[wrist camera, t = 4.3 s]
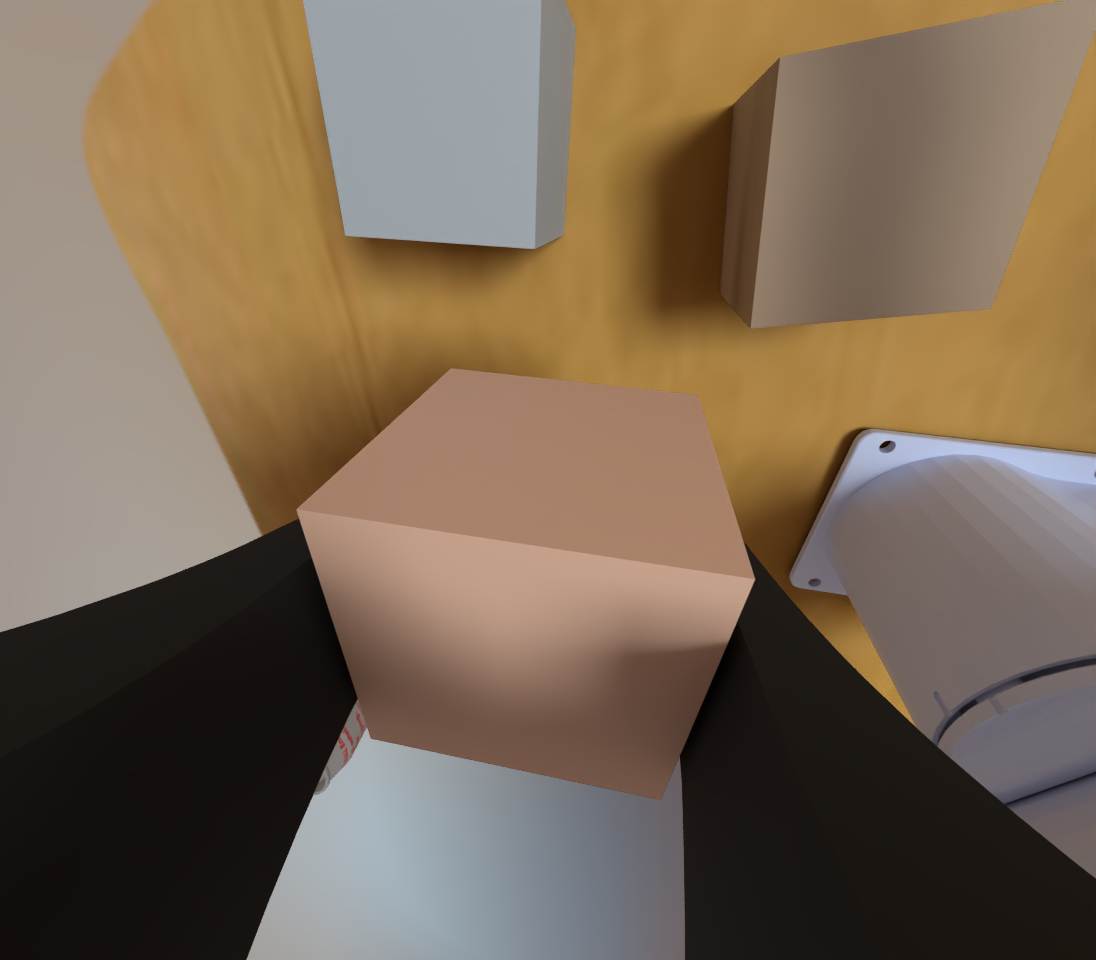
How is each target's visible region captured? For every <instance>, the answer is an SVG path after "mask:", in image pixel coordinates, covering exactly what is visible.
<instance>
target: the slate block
mask: <svg viewBox="0 0 1096 960" xmlns="http://www.w3.org/2000/svg"><path fill="white" fill-rule="evenodd" d="M303 3H304V9H305V14H306V20H307V25H308V31H309V36H310V42H311V47H312V53H313V59H314V64H315V70H316V75H317V81H318V86H319V92H320V97H321V103H322V108H323V114H324V120H325V125H326V131H327V136H328V142H329V147H330V153H331V158H332V164H333V169H334V175H335V181H336V186H337V192H338V197H339V203H340V208H341V214H342V219H343V225H344V230H345V236H356V237H370V238H384V239H398V240H412V241H427V242H441V243H455V244H469V245H483V246H498V247H512V248H526V249H536V248H538V247H540V246H542V245H544V244H546V243H548V242H551V241H553V240H555V239H557V238H559V237H561V236H563V235H564V226H565V209H566V192H567V174H568V157H569V139H570V122H571V104H572V87H573V69H574V52H575V34H576V27H575V25H574V22H573V19H572V17H571V14H570V12H569V9H568V6H567V4H566V1H565V0H303Z"/></svg>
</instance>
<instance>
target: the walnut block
mask: <svg viewBox="0 0 1096 960" xmlns="http://www.w3.org/2000/svg"><path fill="white" fill-rule="evenodd" d="M1095 30H1096V0H1064V1H1059V2H1054V3H1049V4H1044V5H1039V6H1034V7H1029V8H1024V9H1019V10H1014V11H1009V12H1004V13H999V14H994V15H989V16H984V17H979V18H974V19H969V20H964V21H959V22H954V23H949V24H944V25H939V26H934V27H929V28H924V29H919V30H914V31H909V32H904V33H899V34H894V35H889V36H884V37H879V38H874V39H869V40H864V41H859V42H854V43H849V44H844V45H839V46H834V47H829V48H824V49H819V50H814V51H809V52H804V53H799V54H794V55H789V56H784V57H780V58H779V59H778V60H777V61H776V62H775V63H774V64H773V65H772V66H771V67H770V68H769V69H768V70H767V71H766V72H765V73H764V74H763V75H762V76H761V77H760V78H759V79H758V80H757V81H756V82H755V83H754V84H753V85H752V86H751V87H750V88H749V89H748V90H747V91H746V92H745V93H744V94H743V95H742V96H741V97H740V98H739V99H738V100H737V101H736V102H735V103H734V105H733V119H732V133H731V147H730V161H729V175H728V189H727V203H726V217H725V231H724V245H723V259H722V273H721V287H720V294H721V295H722V296H723V297H724V299H725V300H726V301H727V302H728V303H729V304H730V305H731V307H732V308H733V309H734V310H735V311H736V312H737V314H738V315H739V316H740V317H741V318H742V319H743V321H744V322H745V323H746V324H747V325H748V326H749V328H750V329H753V328H765V327H777V326H789V325H802V324H814V323H826V322H838V321H850V320H863V319H875V318H887V317H899V316H911V315H924V314H936V313H948V312H960V311H972V310H985V309H991V308H992V305H993V303H994V300H995V297H996V295H997V292H998V289H999V287H1000V284H1001V281H1002V279H1003V276H1004V273H1005V271H1006V268H1007V265H1008V263H1009V260H1010V257H1011V255H1012V252H1013V249H1014V247H1015V244H1016V241H1017V239H1018V236H1019V233H1020V231H1021V228H1022V225H1023V223H1024V220H1025V217H1026V215H1027V212H1028V209H1029V207H1030V204H1031V201H1032V199H1033V196H1034V193H1035V191H1036V188H1037V185H1038V183H1039V180H1040V177H1041V175H1042V172H1043V169H1044V167H1045V164H1046V161H1047V159H1048V156H1049V153H1050V151H1051V148H1052V145H1053V143H1054V140H1055V137H1056V135H1057V132H1058V129H1059V127H1060V124H1061V121H1062V118H1063V116H1064V113H1065V110H1066V108H1067V105H1068V102H1069V100H1070V97H1071V94H1072V92H1073V89H1074V86H1075V84H1076V81H1077V78H1078V76H1079V73H1080V70H1081V68H1082V65H1083V62H1084V60H1085V57H1086V54H1087V52H1088V49H1089V46H1090V44H1091V41H1092V38H1093V36H1094V33H1095Z"/></svg>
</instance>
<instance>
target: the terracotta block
mask: <svg viewBox="0 0 1096 960" xmlns="http://www.w3.org/2000/svg"><path fill="white" fill-rule="evenodd" d="M296 510H297V513H298V516H299V520H300V523H301V526H302V529H303V532H304V535H305V538H306V541H307V544H308V547H309V550H310V553H311V556H312V559H313V562H314V566H315V569H316V572H317V575H318V578H319V581H320V584H321V587H322V590H323V593H324V596H325V599H326V602H327V605H328V608H329V612H330V615H331V618H332V621H333V624H334V627H335V630H336V633H337V636H338V639H339V642H340V645H341V648H342V651H343V654H344V657H345V661H346V664H347V667H348V670H349V673H350V676H351V679H352V682H353V685H354V688H355V691H356V694H357V697H358V700H359V703H360V707H361V710H362V713H363V716H364V719H365V722H366V725H367V728H368V731H369V734H370V737H371V739H375V740H380V741H385V742H389V743H394V744H399V745H404V746H408V747H413V748H418V749H423V750H427V751H432V752H437V753H441V754H446V755H451V756H455V757H460V758H465V759H470V760H474V761H479V762H484V763H488V764H493V765H498V766H502V767H507V768H512V769H517V770H521V771H526V772H531V773H536V774H540V775H545V776H550V777H555V778H559V779H564V780H568V781H573V782H578V783H582V784H587V785H592V786H597V787H601V788H606V789H611V790H615V791H620V792H625V793H630V794H634V795H639V796H644V797H648V798H653V799H658V800H661V799H662V796H663V794H664V792H665V789H666V787H667V785H668V782H669V780H670V778H671V775H672V773H673V771H674V768H675V766H676V764H677V761H678V759H679V757H680V754H681V752H682V750H683V747H684V745H685V743H686V740H687V738H688V735H689V733H690V731H691V728H692V726H693V724H694V721H695V719H696V717H697V714H698V712H699V710H700V707H701V705H702V703H703V700H704V698H705V696H706V693H707V691H708V689H709V686H710V684H711V682H712V679H713V677H714V675H715V672H716V670H717V668H718V665H719V663H720V660H721V658H722V656H723V653H724V651H725V649H726V646H727V644H728V642H729V639H730V637H731V635H732V632H733V630H734V628H735V625H736V623H737V621H738V618H739V616H740V614H741V611H742V609H743V607H744V604H745V602H746V600H747V597H748V595H749V592H750V590H751V588H752V585H753V583H754V581H755V577H754V574H753V571H752V568H751V564H750V561H749V558H748V555H747V551H746V548H745V545H744V542H743V539H742V535H741V532H740V529H739V526H738V523H737V519H736V516H735V513H734V510H733V506H732V503H731V500H730V497H729V494H728V490H727V487H726V484H725V481H724V478H723V474H722V471H721V468H720V465H719V461H718V458H717V455H716V452H715V449H714V445H713V442H712V439H711V436H710V433H709V429H708V426H707V423H706V420H705V416H704V413H703V410H702V407H701V404H700V400H699V397H698V395H694V394H685V393H676V392H667V391H657V390H648V389H639V388H629V387H620V386H611V385H602V384H592V383H583V382H574V381H564V380H555V379H546V378H536V377H527V376H518V375H509V374H499V373H490V372H481V371H471V370H462V369H453V368H451V369H450V370H449V371H448V372H446V373H445V374H444V375H443V376H442V377H441V378H440V379H439V380H438V381H437V382H436V383H434V384H433V385H432V386H431V387H430V388H429V389H428V390H427V391H426V392H425V393H423V394H422V395H421V396H420V397H419V398H418V399H417V400H416V401H415V402H414V403H412V404H411V405H410V406H409V407H408V408H407V409H406V410H405V411H404V412H403V413H401V414H400V415H399V416H398V417H397V418H396V419H395V420H394V421H393V422H392V423H391V424H389V425H388V426H387V427H386V428H385V429H384V430H383V431H382V432H381V433H380V434H378V435H377V436H376V437H375V438H374V439H373V440H372V441H371V442H370V443H369V444H367V445H366V446H365V447H364V448H363V449H362V450H361V451H360V452H359V453H358V454H357V455H355V456H354V457H353V458H352V459H351V460H350V461H349V462H348V463H347V464H346V465H344V466H343V467H342V468H341V469H340V470H339V471H338V472H337V473H336V474H335V475H333V476H332V477H331V478H330V479H329V480H328V481H327V482H326V483H325V484H324V485H323V486H321V487H320V488H319V489H318V490H317V491H316V492H315V493H314V494H313V495H312V496H310V497H309V498H308V499H307V500H306V501H305V502H304V503H303V504H302V505H301V506H299V507H298V508H297V509H296Z"/></svg>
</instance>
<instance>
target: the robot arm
mask: <svg viewBox="0 0 1096 960" xmlns="http://www.w3.org/2000/svg"><path fill="white" fill-rule="evenodd" d="M885 441H890V444H889V445H888V446H886V447H884V448H879V446H880V445H881V444H882V443H883V442H885ZM1095 471H1096V454H1092V453H1083V452H1074V451H1065V450H1057V449H1048V448H1039V447H1030V446H1021V445H1012V444H1004V443H995V442H986V441H977V440H968V439H960V438H951V437H942V436H933V435H924V434H915V433H907V432H898V431H889V430H880V429H868V430H865V431H862V432H861V433H860V434H858V435H857V436H856V438H855V439H854V441H853V443H852V445H851V447H850V449H849V452H848V454H847V456H846V458H845V460H844V462H843V464H842V466H841V468H840V470H839V472H838V474H837V476H836V478H835V481H834V483H833V485H832V487H831V489H830V491H829V493H828V495H827V497H826V499H825V501H824V503H823V505H822V507H821V509H820V512H819V514H818V516H817V518H816V520H815V522H814V524H813V526H812V528H811V530H810V532H809V534H808V536H807V538H806V541H805V543H804V545H803V547H802V549H801V551H800V553H799V555H798V557H797V559H796V561H795V563H794V565H793V567H792V570H791V572H790V574H789V578H790V581H791V583H792V585H793V586H795V587H798V588H803V589H809V590H816V591H822V592H828V593H835V594H841V595H848V597H849V599H850V601H851V603H852V605H853V607H854V609H855V610H856V612H857V614H858V616H859V618H860V620H861V622H862V624H863V626H864V628H865V630H866V632H867V633H868V635H869V637H870V639H871V641H872V643H873V645H874V647H875V649H876V651H877V653H878V655H879V656H880V658H881V660H882V662H883V664H884V666H885V668H886V670H887V672H888V674H889V676H890V677H891V679H892V681H893V683H894V685H895V687H896V689H897V691H898V693H899V695H900V697H901V699H902V700H903V702H904V704H905V706H906V708H907V710H908V712H909V714H910V716H911V718H912V720H913V722H914V723H915V725H916V727H917V728H916V727H915V726H914V725H913V724H912V723H911V722H910V721H909V720H908V719H907V718H905V717H904V716H903V715H902V714H901V713H900V712H899V711H898V710H897V709H896V708H895V707H894V706H893V705H892V704H891V703H890V702H889V701H888V700H887V699H886V698H885V697H883V696H882V695H881V694H880V693H879V692H878V691H877V690H876V689H875V688H874V687H873V686H872V685H871V684H870V683H869V682H868V681H867V680H866V679H865V678H864V677H863V676H862V675H861V674H860V673H859V672H858V671H857V670H856V669H855V668H854V667H853V666H852V665H851V664H850V663H849V662H848V661H847V660H846V659H845V658H844V657H843V656H842V655H841V654H840V653H839V652H838V651H837V650H836V649H835V648H834V647H833V646H832V644H831V643H830V642H829V641H828V640H827V639H826V638H825V637H824V636H823V635H822V634H821V633H820V631H819V630H818V629H817V628H816V627H815V626H814V625H813V624H812V623H811V622H810V621H809V620H808V618H807V617H806V616H805V615H804V614H803V613H802V612H801V611H800V609H799V608H798V607H797V606H796V605H795V604H794V603H793V601H792V600H791V599H790V598H789V597H788V596H787V594H786V593H785V592H784V591H783V590H782V588H781V587H780V586H779V585H778V584H777V582H776V581H775V580H774V579H773V578H772V576H771V575H770V574H769V573H768V571H767V570H766V569H765V568H764V566H763V565H762V564H761V563H760V561H759V560H758V559H757V558H756V556H755V555H754V554H753V553H752V551H751V550H750V549H749V547H748V546H747V545H746V544H745V542H744V541H743V542H744V545H745V548H746V551H747V555H748V558H749V561H750V564H751V568H752V571H753V574H754V577H755V581H754V583H753V585H752V588H751V590H750V592H749V595H748V597H747V600H746V602H745V604H744V607H743V609H742V611H741V614H740V616H739V618H738V621H737V623H736V625H735V628H734V630H733V632H732V635H731V637H730V639H729V642H728V644H727V646H726V649H725V651H724V653H723V656H722V658H721V660H720V663H719V665H718V668H717V670H716V672H715V675H714V677H713V679H712V682H711V684H710V686H709V689H708V691H707V693H706V696H705V698H704V700H703V703H702V705H701V707H700V710H699V712H698V714H697V717H696V719H695V721H694V724H693V726H692V728H691V731H690V733H689V735H688V738H687V740H686V743H685V745H684V747H683V750H682V752H681V754H680V764H681V777H682V800H683V833H684V834H683V835H684V836H683V837H684V887H685V888H684V889H685V890H684V891H685V960H1096V472H1095ZM816 578H817V579H816ZM811 579H816V580H813V581H810V580H811ZM357 700H358V697H357V694H356V691H355V688H354V685H353V682H352V679H351V676H350V673H349V670H348V667H347V664H346V661H345V657H344V654H343V651H342V648H341V645H340V642H339V639H338V636H337V633H336V630H335V627H334V624H333V621H332V618H331V615H330V612H329V608H328V605H327V602H326V599H325V596H324V593H323V590H322V587H321V584H320V581H319V578H318V575H317V572H316V569H315V566H314V562H313V559H312V556H311V553H310V550H309V547H308V544H307V541H306V538H305V535H304V532H303V529H302V526H301V523H300V520H299V519H297V520H295V521H293V522H291V523H289V524H287V525H285V526H282V527H280V528H278V529H276V530H274V531H272V532H270V533H268V534H266V535H264V536H262V537H259V538H257V539H255V540H253V541H251V542H249V543H247V544H245V545H243V546H241V547H238V548H236V549H234V550H231V551H229V552H227V553H224V554H222V555H220V556H218V557H215V558H213V559H210V560H208V561H206V562H203V563H200V564H198V565H196V566H193V567H191V568H188V569H185V570H183V571H180V572H178V573H176V574H173V575H170V576H168V577H165V578H163V579H160V580H157V581H155V582H152V583H149V584H147V585H144V586H141V587H138V588H135V589H132V590H129V591H126V592H123V593H120V594H117V595H115V596H111V597H109V598H106V599H103V600H100V601H97V602H94V603H91V604H88V605H85V606H83V607H79V608H76V609H73V610H71V611H68V612H65V613H62V614H59V615H56V616H52V617H49V618H46V619H43V620H40V621H36V622H33V623H30V624H26V625H24V626H20V627H17V628H13V629H10V630H7V631H3V632H0V960H246V959H247V957H248V954H249V951H250V949H251V946H252V943H253V941H254V938H255V936H256V933H257V930H258V927H259V925H260V923H261V920H262V917H263V915H264V912H265V909H266V907H267V904H268V902H269V899H270V897H271V894H272V892H273V890H274V887H275V885H276V882H277V880H278V877H279V875H280V872H281V870H282V868H283V865H284V863H285V860H286V858H287V855H288V853H289V850H290V848H291V846H292V843H293V841H294V838H295V836H296V833H297V831H298V829H299V826H300V824H301V822H302V819H303V817H304V815H305V813H306V810H307V808H308V806H309V803H310V801H311V799H312V797H313V794H314V792H315V790H316V787H317V785H318V783H319V781H320V778H321V776H322V774H323V771H324V769H325V767H326V765H327V763H328V760H329V758H330V756H331V754H332V752H333V750H334V747H335V745H336V743H337V741H338V739H339V737H340V735H341V732H342V730H343V728H344V726H345V724H346V722H347V719H348V717H349V715H350V713H351V711H352V709H353V707H354V705H355V704H356V702H357Z"/></svg>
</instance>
